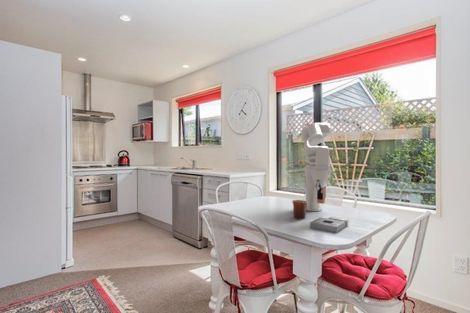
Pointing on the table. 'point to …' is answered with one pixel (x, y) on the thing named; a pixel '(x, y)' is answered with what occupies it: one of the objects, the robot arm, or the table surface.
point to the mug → (299, 209)
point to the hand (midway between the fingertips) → (321, 198)
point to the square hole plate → (328, 224)
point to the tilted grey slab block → (340, 220)
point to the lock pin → (323, 197)
